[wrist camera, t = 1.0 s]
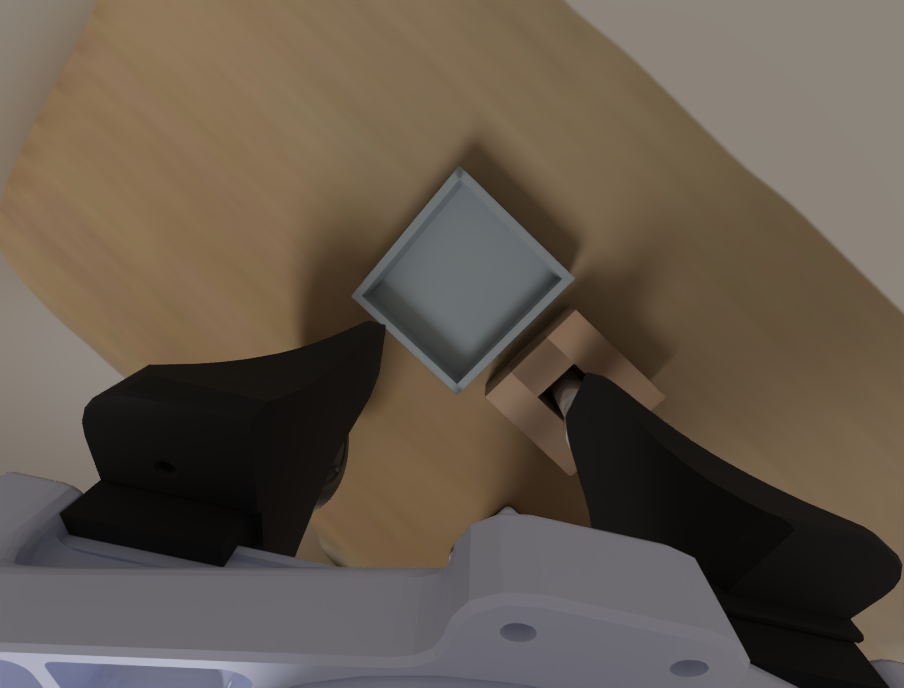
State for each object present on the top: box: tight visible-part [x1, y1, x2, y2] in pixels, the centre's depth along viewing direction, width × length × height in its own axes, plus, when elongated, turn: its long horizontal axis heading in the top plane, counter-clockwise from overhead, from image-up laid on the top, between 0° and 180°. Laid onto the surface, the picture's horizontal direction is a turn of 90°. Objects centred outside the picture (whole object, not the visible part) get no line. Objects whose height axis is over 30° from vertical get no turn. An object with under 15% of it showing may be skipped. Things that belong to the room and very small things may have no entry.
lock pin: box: [550, 370, 582, 447], centre depth 24 cm, size 3×3×9 cm
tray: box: [351, 166, 575, 395], centre depth 26 cm, size 11×12×2 cm
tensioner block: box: [485, 306, 666, 477], centre depth 26 cm, size 9×9×3 cm
